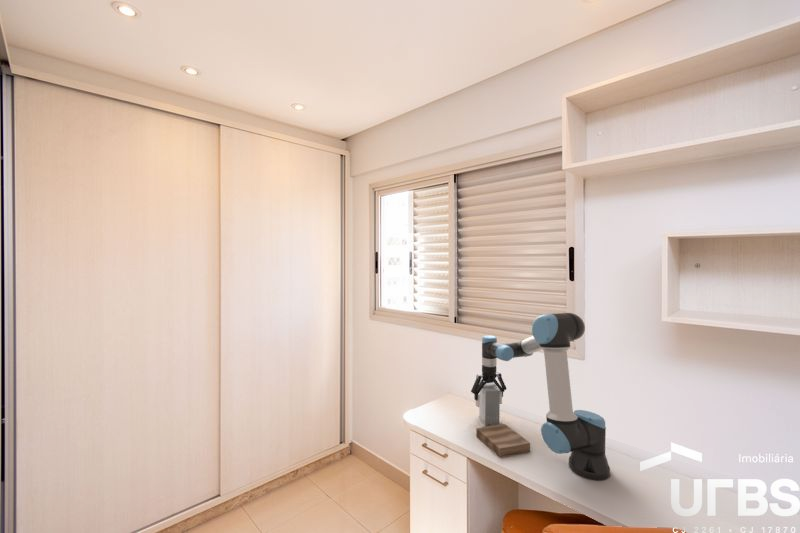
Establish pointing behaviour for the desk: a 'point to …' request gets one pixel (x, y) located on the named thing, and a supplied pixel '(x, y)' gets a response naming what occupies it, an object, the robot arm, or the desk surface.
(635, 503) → the desk surface
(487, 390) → the hard drive box
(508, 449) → the walnut riser
